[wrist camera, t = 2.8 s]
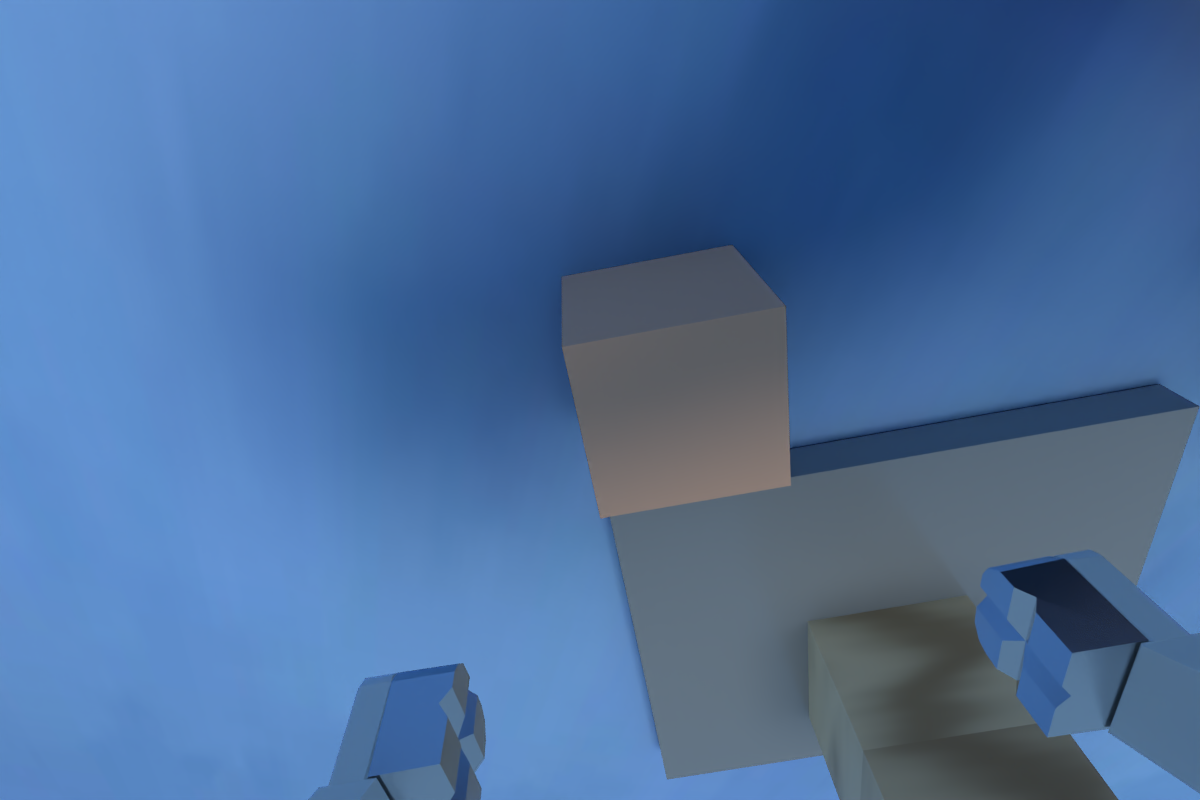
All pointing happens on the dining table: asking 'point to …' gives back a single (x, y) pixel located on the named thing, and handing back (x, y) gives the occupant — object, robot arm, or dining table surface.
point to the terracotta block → (678, 379)
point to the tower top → (984, 769)
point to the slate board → (874, 552)
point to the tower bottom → (902, 683)
